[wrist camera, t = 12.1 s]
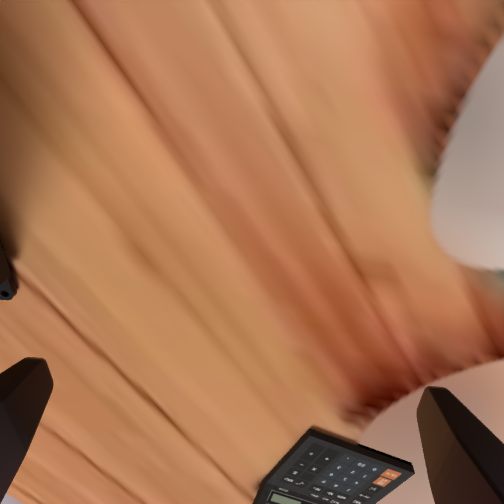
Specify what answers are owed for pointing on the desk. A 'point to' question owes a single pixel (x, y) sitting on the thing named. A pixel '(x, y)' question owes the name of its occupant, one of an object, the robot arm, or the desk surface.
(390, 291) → the desk surface
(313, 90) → the desk surface
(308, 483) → the calculator
